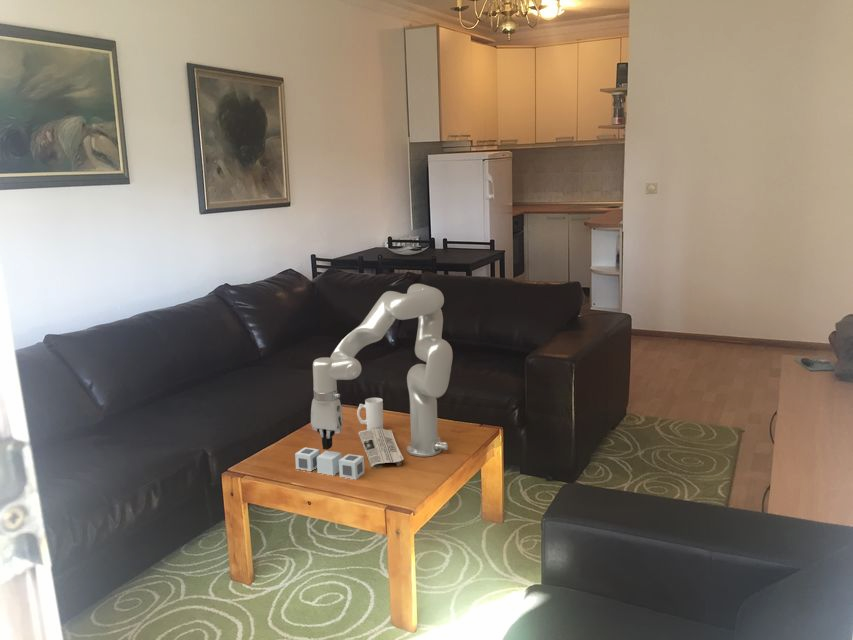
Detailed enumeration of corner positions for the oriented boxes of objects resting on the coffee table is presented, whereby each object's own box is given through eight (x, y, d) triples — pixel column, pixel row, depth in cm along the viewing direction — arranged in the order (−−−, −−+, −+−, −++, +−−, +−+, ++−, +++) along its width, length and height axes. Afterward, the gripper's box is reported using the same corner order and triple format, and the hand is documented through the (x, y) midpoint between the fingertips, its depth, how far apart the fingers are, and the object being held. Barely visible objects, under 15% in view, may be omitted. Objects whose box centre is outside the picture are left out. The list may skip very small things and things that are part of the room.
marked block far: (321, 466, 252) (320, 449, 251) (311, 473, 246) (310, 455, 245) (305, 463, 254) (304, 446, 253) (295, 470, 249) (294, 453, 247)
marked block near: (364, 473, 245) (364, 455, 244) (355, 480, 240) (355, 462, 238) (348, 470, 248) (347, 453, 246) (339, 477, 242) (338, 460, 241)
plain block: (342, 469, 249) (341, 452, 247) (333, 476, 243) (332, 459, 242) (326, 467, 251) (325, 450, 250) (317, 473, 246) (316, 456, 244)
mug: (383, 426, 289) (381, 397, 287) (384, 432, 282) (383, 402, 280) (357, 428, 288) (356, 398, 285) (358, 434, 281) (357, 404, 279)
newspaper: (358, 436, 281) (358, 427, 280) (390, 432, 283) (390, 424, 282) (372, 472, 247) (372, 462, 246) (408, 468, 249) (408, 458, 249)
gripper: (351, 394, 242) (352, 447, 246) (312, 389, 248) (314, 441, 251) (339, 401, 235) (341, 455, 239) (299, 396, 241) (302, 449, 245)
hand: (327, 448), depth 245 cm, fingers closed
